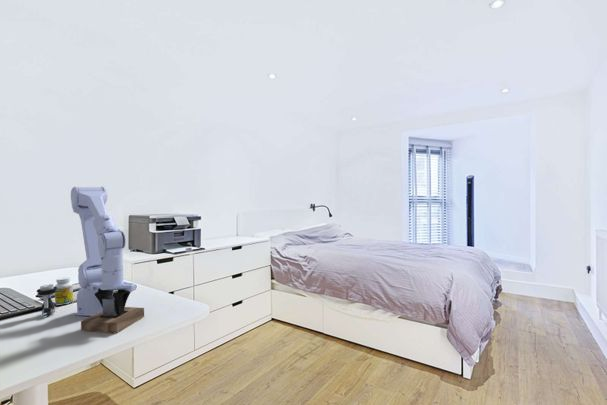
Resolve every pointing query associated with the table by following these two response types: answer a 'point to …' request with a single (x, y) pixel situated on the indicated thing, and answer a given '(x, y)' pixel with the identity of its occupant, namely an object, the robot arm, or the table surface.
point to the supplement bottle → (63, 291)
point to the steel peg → (110, 308)
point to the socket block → (112, 321)
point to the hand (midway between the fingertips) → (114, 312)
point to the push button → (47, 299)
